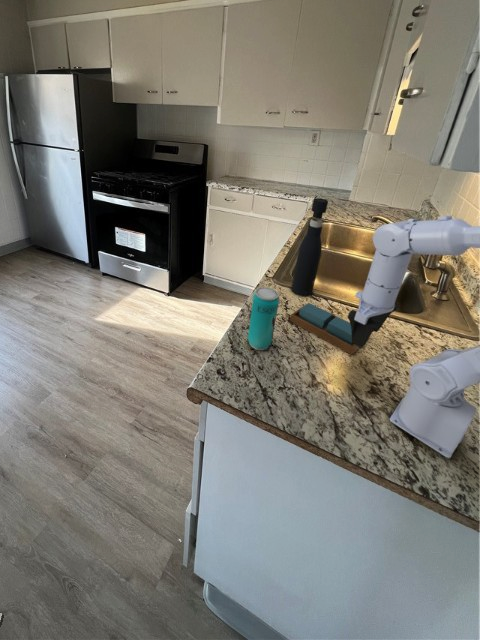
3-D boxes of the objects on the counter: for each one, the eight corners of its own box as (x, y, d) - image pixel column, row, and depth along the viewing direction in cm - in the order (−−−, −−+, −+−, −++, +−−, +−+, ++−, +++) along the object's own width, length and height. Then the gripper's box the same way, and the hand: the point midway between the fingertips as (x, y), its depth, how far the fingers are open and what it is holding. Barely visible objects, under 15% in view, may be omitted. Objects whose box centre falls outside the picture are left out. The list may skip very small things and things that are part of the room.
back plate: (367, 338, 80) (370, 332, 80) (351, 355, 75) (354, 348, 74) (307, 308, 92) (308, 302, 91) (289, 320, 86) (290, 314, 86)
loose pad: (358, 338, 80) (361, 328, 78) (350, 345, 77) (353, 336, 76) (334, 325, 84) (336, 316, 83) (325, 332, 81) (328, 323, 80)
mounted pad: (330, 323, 85) (332, 314, 84) (321, 330, 82) (324, 320, 81) (306, 311, 90) (308, 302, 88) (298, 317, 87) (300, 308, 86)
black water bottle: (289, 285, 104) (306, 196, 91) (309, 287, 103) (329, 197, 90) (292, 295, 98) (311, 202, 85) (313, 297, 98) (335, 203, 85)
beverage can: (271, 354, 74) (280, 301, 68) (246, 350, 75) (253, 297, 69) (270, 338, 79) (279, 287, 73) (247, 335, 80) (254, 284, 74)
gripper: (376, 263, 68) (360, 315, 74) (346, 285, 59) (330, 341, 65) (413, 276, 63) (393, 330, 69) (386, 301, 54) (365, 360, 60)
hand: (365, 336), depth 67 cm, fingers open, 7 cm apart
